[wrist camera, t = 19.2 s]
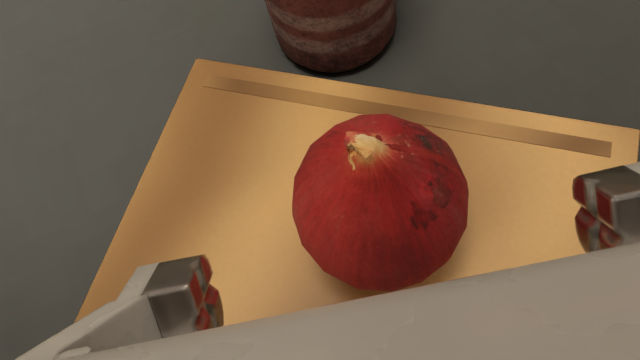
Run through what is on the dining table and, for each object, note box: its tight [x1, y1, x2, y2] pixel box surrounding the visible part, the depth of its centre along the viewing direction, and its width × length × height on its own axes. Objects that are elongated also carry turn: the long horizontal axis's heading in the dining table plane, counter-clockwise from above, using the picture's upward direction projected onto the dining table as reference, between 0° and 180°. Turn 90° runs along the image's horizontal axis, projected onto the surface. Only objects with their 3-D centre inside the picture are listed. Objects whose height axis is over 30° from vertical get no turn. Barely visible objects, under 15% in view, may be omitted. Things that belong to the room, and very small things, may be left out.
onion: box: [292, 114, 469, 292], centre depth 19 cm, size 6×6×8 cm
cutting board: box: [74, 58, 640, 326], centre depth 23 cm, size 20×14×2 cm
